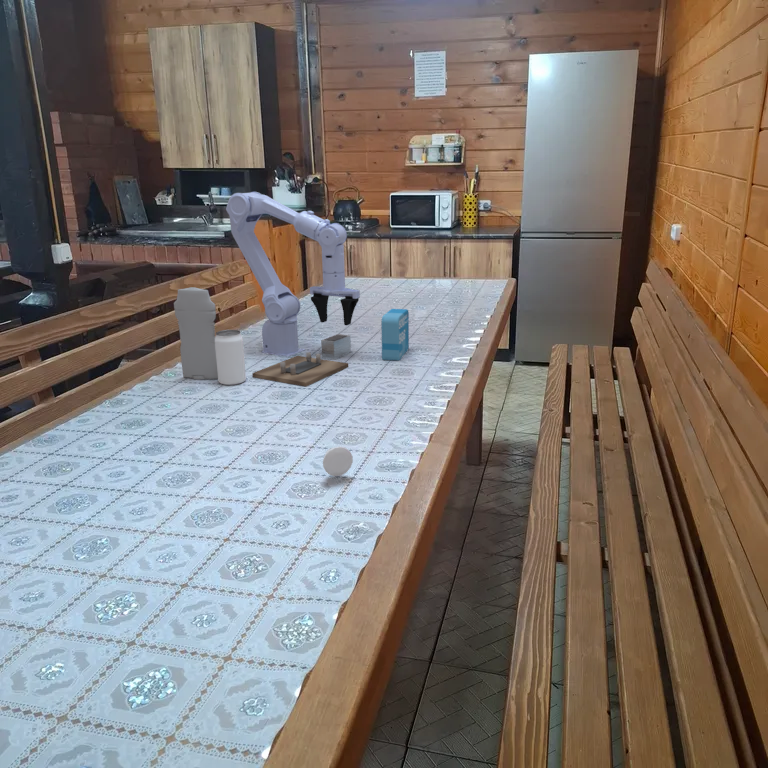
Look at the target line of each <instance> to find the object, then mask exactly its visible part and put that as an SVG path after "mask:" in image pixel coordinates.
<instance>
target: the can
mask: <svg viewBox="0 0 768 768" xmlns="http://www.w3.org/2000/svg"><path fill="white" fill-rule="evenodd" d="M243 339H244V338H243V336H242V334H241V330H237V329H223V330H219V331H215V351H216V362H217V372H218V379H217V381H218V383H219V384H221V385H224V386H235V385H240V384H243V383H245V381H246V380H247V375H246V373H247V371H246V363H245V362H246V361H245V349H244V340H243Z"/></svg>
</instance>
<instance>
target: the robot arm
mask: <svg viewBox="0 0 768 768" xmlns="http://www.w3.org/2000/svg"><path fill="white" fill-rule="evenodd" d="M227 201H228V202H227V204H226V208H225V210H226V212H227V214H228V216H229V223H230V232H231V235H232V237H233V239H234V240H235V242H236V244H237V245H238V248H239V250H240V251H241V253H242V255H243V257H244V259H245V260H246V262H247V265H248V266H249V268H250V270H251V272H252V274H253V275H254V277H255V280H256V281H257V283H258V285H259V287H260V289H261V290H262V293H263V294H262V298H261V301H262V302H261V303H262V304H263V306H264V313H265V316H266V318H267V320H266V321H264V323H263V325H262V328H261V335H262V336H261V337H262V351H261V353H262V354H270V355H276V356H281V357H291V356H293V355H296V354H298V353H301V352H304V351H306V349H305V348H301V347H299V336H298V335H299V333H298V332H299V331H298V317H297V316H298V314H299V313H300V311H301V302H300V300H299V298H298V297H297V296H296V295H294V294H293V293H292V291H291V290H290V287H287V286H286V285H285V284H283V283H282V282H281V279H280V278H279V276H278V274H277V273H276V270H275V268H274V267H273V265H272V263H271V261H270V260H269V259H270V258H268V256H267V253H266V251H265V250H264V248H263V246H262V244H261V243H260V241H259V239H258V237H257V236H256V233H255V229H256V225H257V223H258V221H259V219H260V218H261V216H262V215H264V214H267V215H270V216H272V217H274V218H277V219H278V220H281V221H284V222H286V223H288V224H291V225H293V227H294V228H293V229H294V230H295V231H296V232H297V233H298V234H301V235H302V236H306V238H309V239H312V240H313V241H315V242H318V244H319V246H320V247H321V262H322V263H321V264H322V266H321V267H322V286H314V285H313V286H310V287H309V295H313V296H311V297H310V301H311V302H312V303H313V305H314V308H315V309H316V311H317V314H318V317H319V320H320V323H321V324H322V323H325V322H327V321H328V302H329V298H330V297H339V298H340V297H341V299H340V300H339V302H340V304H341V307H342V312H343V313H342V315H343V325H344V326H349V325H351V323H352V319H353V314H354V311H355V308H356V306H357V304H358V302H359V299H360V297H361V296H360V295H361V293H360V289H353V288H349V287H346V273H345V272H346V271H345V270H346V269H345V253H344V252H345V247H344V246H345V242H346V241H347V238H348V235H347V234H348V233H347V230H346V228H345V227H344V226H343V225H341V224H340V223H339V222H334V223H331V220H329V219H327V218H325V219H323V218H322V217H319V216H317V215H315V212H314V211H312V210H307V211H306V210H303V211H300V212H298V211H295V210H294V209H293V208H290V207H288V206H286V205H285V204H283V203H281V202H279V201H278V200H275V199H273V198H271V197H270V196H268V195H267V194H266V195H265V194H262V193H260V192H257V191H250V192H234V193H233V194H231V196H229V198H228V200H227Z"/></svg>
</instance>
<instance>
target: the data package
mask: <svg viewBox="0 0 768 768" xmlns="http://www.w3.org/2000/svg"><path fill="white" fill-rule="evenodd" d="M409 317H410V315H409V309H407V308H406V309H405V308H391V309H390V310H388V311H387V312H386V313H384V315H382V316H381V320H380V321H381V325H380V326H381V358H382V360H383V361H398V362H399V361H400V360H401V359H402V358H403V357H404V355H405V354H406V353H407V351H408V350H409V346H410V345H409V343H410V342H409V338H410V337H409V333H410V332H409V331H410V329H409V327H410V323H409V322H410V320H409Z"/></svg>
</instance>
